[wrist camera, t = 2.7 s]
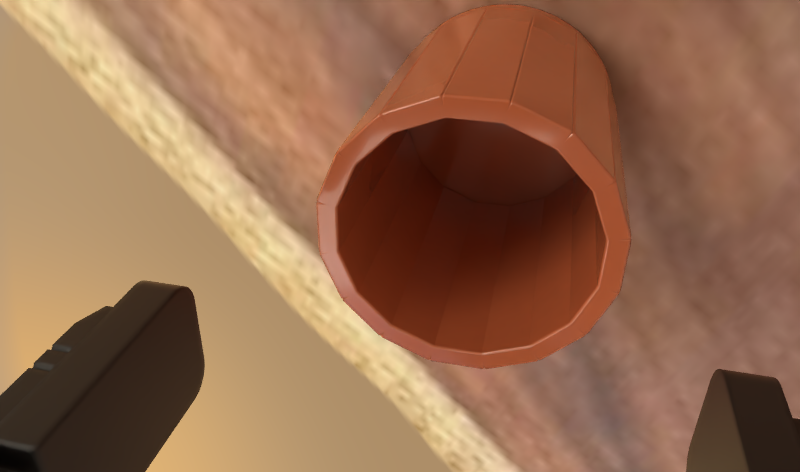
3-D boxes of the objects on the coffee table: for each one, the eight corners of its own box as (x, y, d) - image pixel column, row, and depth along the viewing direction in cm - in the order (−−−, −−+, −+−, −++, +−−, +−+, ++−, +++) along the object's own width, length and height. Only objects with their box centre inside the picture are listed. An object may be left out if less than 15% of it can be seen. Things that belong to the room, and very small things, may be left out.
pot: (400, -4, 19) (308, 82, 13) (632, 11, 18) (659, 113, 12) (397, 196, 22) (323, 344, 16) (595, 219, 21) (600, 389, 15)
